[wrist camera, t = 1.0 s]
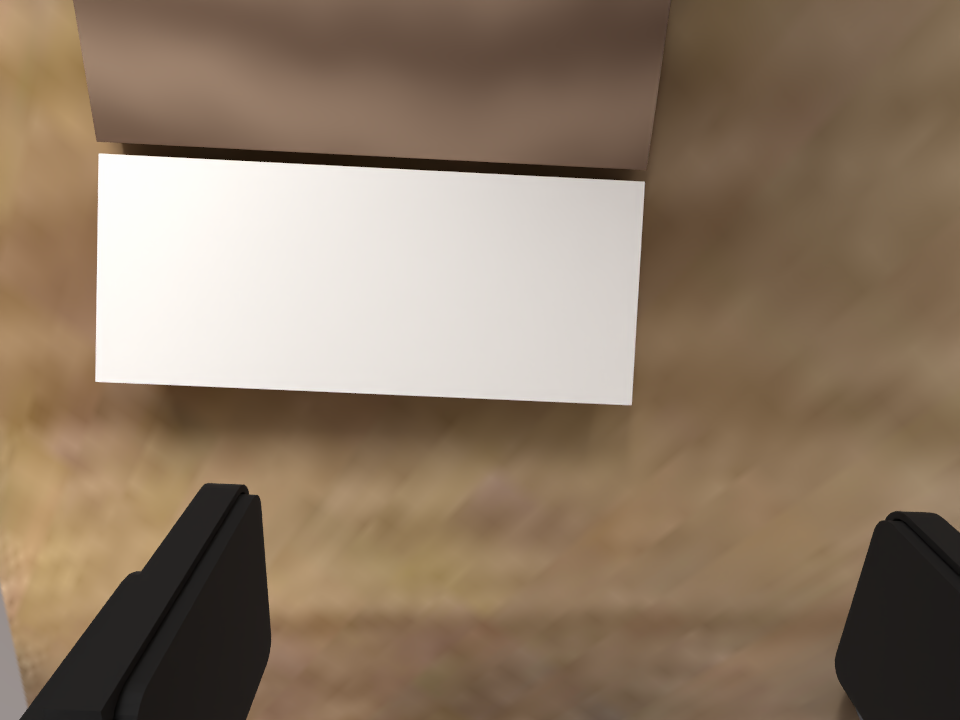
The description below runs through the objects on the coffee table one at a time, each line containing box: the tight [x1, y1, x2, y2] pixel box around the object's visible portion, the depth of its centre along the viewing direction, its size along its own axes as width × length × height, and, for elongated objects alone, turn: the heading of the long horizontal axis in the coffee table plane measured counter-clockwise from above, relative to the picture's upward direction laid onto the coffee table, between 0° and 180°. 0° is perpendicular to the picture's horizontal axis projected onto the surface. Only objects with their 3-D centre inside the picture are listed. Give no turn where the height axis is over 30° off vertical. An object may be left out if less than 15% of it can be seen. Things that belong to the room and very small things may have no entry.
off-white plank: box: [96, 154, 645, 405], centre depth 31 cm, size 10×24×2 cm, turn 86°
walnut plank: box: [73, 0, 671, 170], centre depth 28 cm, size 10×24×2 cm, turn 87°
